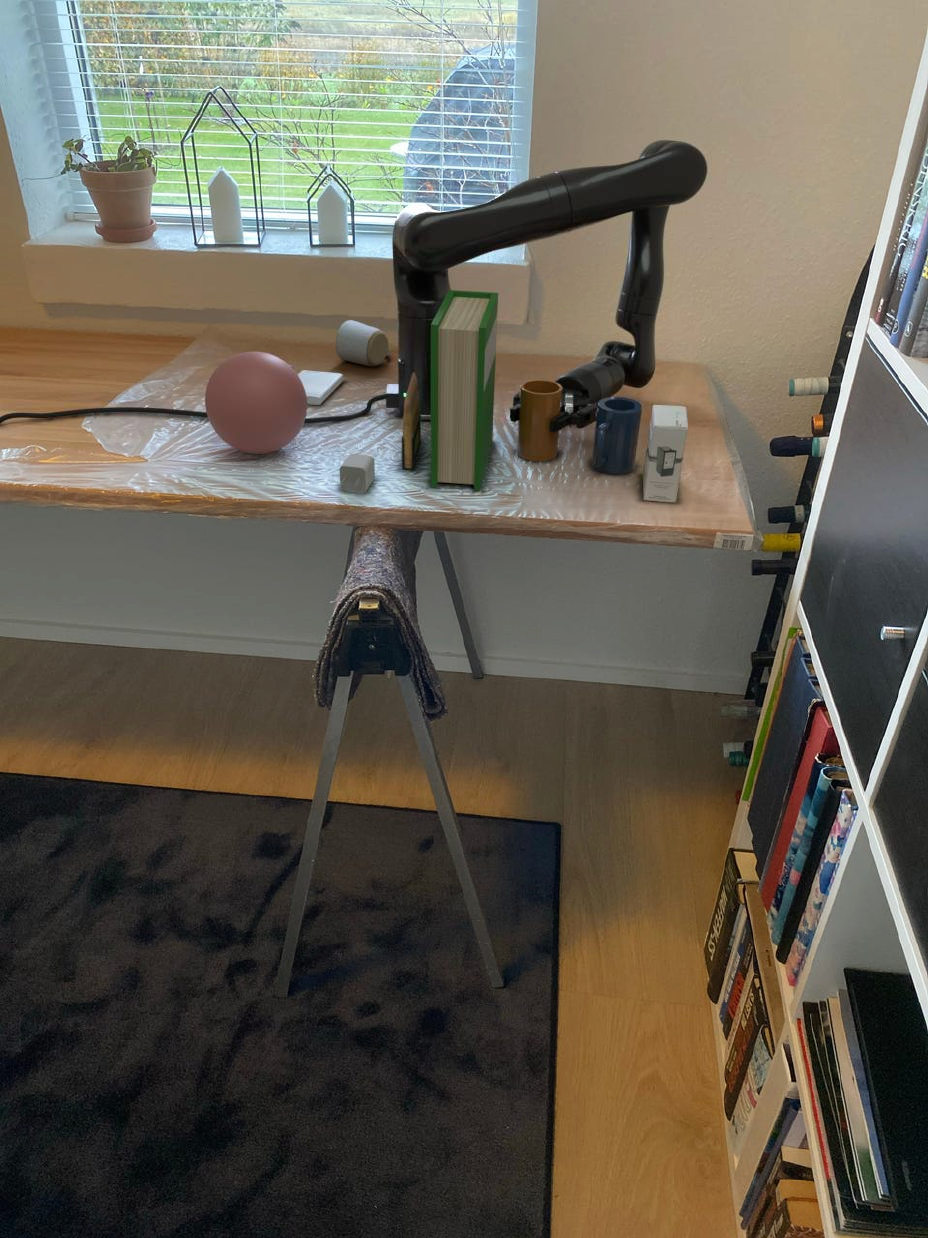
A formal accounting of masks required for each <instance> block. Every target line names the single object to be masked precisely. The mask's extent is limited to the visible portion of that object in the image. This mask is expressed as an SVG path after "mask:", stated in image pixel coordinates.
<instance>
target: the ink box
mask: <svg viewBox="0 0 928 1238" xmlns="http://www.w3.org/2000/svg"><path fill="white" fill-rule="evenodd" d="M688 423H689V421H688V412H687V407H686V406H682V405H667V404H666V405H665V404H653V405H652V410H651V416H650V422H649V428H648V429H649V430H648V437H647V443H646V450H645V456H644V461H643V462H644V463H643V470H642V490H643V491H642V492H643V493H642V494H643V500H644V501H651V502H663V503H673V504H675V503H676V502H677V498H678V490H679V486H680V479H681V473H682V466H683V460H684V454H685V448H686V443H687V436H688V431H689V424H688Z"/></svg>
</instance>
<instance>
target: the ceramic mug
mask: <svg viewBox="0 0 928 1238" xmlns="http://www.w3.org/2000/svg"><path fill="white" fill-rule="evenodd" d="M335 350H336V354H337V356H338V357H339V358H340V359H341V360H343V361H346V362H351V363H354V364H360V365H363V366H367V367H377V366H379V365H381V364H382V363H383V362H384V361H385V359H386V357H389V356H390V354H391V348H389V339H388V336H387V334H386V333H385V332H384V331H383V330H381V329H379V328H377V327H375V326H371V325H367V324H365V323H362V322H359V321H356V320H352V319H349V320H346V321H344V322H343V323H342V324H341V325H340V327H339V328H338V330H337V333H336V337H335Z"/></svg>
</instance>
